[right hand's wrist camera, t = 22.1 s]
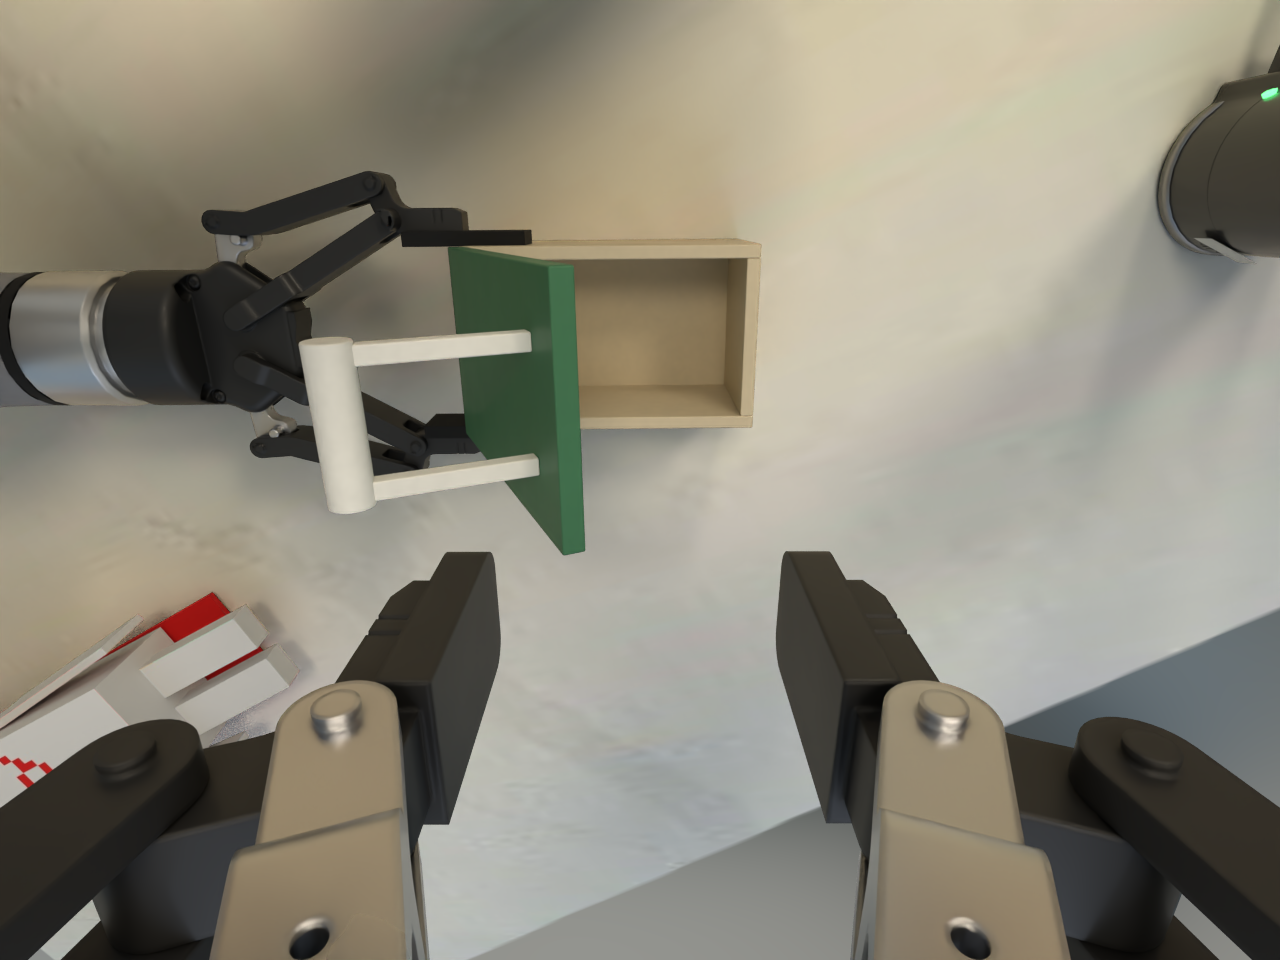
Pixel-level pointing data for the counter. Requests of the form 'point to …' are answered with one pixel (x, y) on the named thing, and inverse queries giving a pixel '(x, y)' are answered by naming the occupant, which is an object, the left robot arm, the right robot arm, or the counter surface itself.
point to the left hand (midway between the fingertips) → (534, 335)
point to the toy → (144, 688)
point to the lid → (472, 394)
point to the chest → (661, 329)
